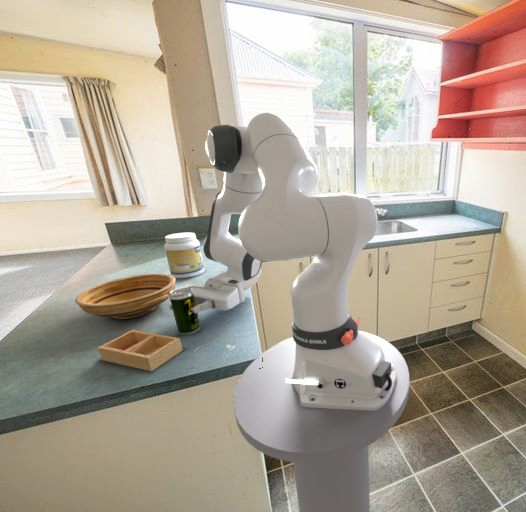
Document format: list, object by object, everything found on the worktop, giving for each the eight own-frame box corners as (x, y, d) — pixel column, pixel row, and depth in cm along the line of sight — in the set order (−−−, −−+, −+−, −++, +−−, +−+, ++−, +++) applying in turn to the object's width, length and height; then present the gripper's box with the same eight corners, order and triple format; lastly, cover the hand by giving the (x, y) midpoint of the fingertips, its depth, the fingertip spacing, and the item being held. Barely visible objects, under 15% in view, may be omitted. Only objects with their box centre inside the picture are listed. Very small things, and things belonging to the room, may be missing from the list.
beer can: (174, 336, 81) (164, 296, 77) (184, 325, 86) (175, 288, 82) (195, 334, 82) (186, 295, 78) (204, 324, 87) (196, 287, 83)
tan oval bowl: (60, 319, 89) (51, 295, 87) (146, 288, 111) (141, 268, 108) (120, 340, 79) (111, 314, 76) (202, 301, 100) (198, 280, 98)
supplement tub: (208, 274, 125) (200, 235, 120) (173, 281, 117) (164, 240, 112) (201, 266, 133) (194, 230, 128) (169, 273, 126) (159, 234, 120)
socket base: (182, 350, 75) (179, 338, 74) (151, 371, 68) (147, 358, 66) (136, 341, 79) (133, 329, 78) (102, 360, 71) (97, 347, 70)
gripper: (191, 276, 95) (149, 294, 82) (246, 282, 90) (210, 303, 77) (195, 294, 97) (155, 314, 84) (249, 301, 92) (214, 324, 79)
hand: (181, 309), depth 81 cm, fingers open, 6 cm apart
